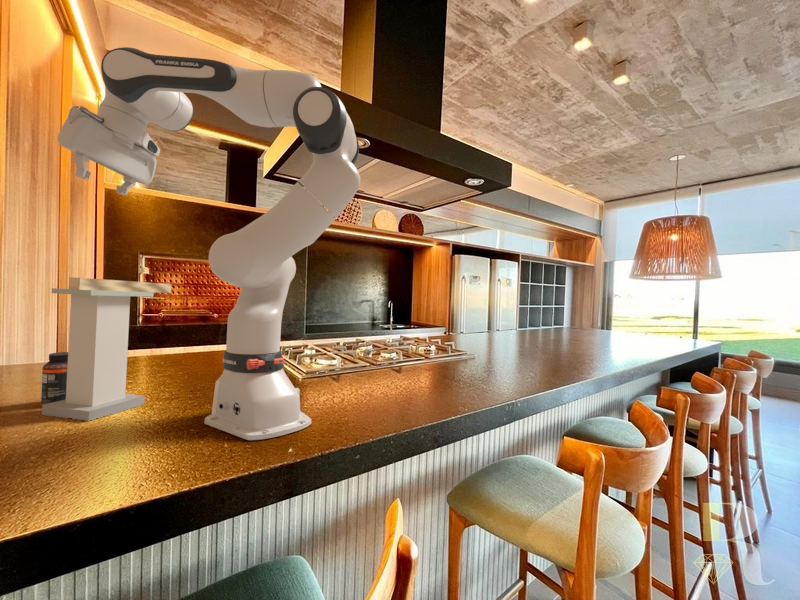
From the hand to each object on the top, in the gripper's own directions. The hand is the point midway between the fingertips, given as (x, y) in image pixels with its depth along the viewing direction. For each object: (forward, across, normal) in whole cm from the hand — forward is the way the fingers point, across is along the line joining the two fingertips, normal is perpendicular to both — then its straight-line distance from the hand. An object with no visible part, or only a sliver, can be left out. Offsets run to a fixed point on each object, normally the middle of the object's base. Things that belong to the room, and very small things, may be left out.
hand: (102, 186), depth 80 cm
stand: (+48, 0, -14) cm, 50 cm away
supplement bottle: (+50, +2, -4) cm, 50 cm away
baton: (+22, +4, -10) cm, 24 cm away
